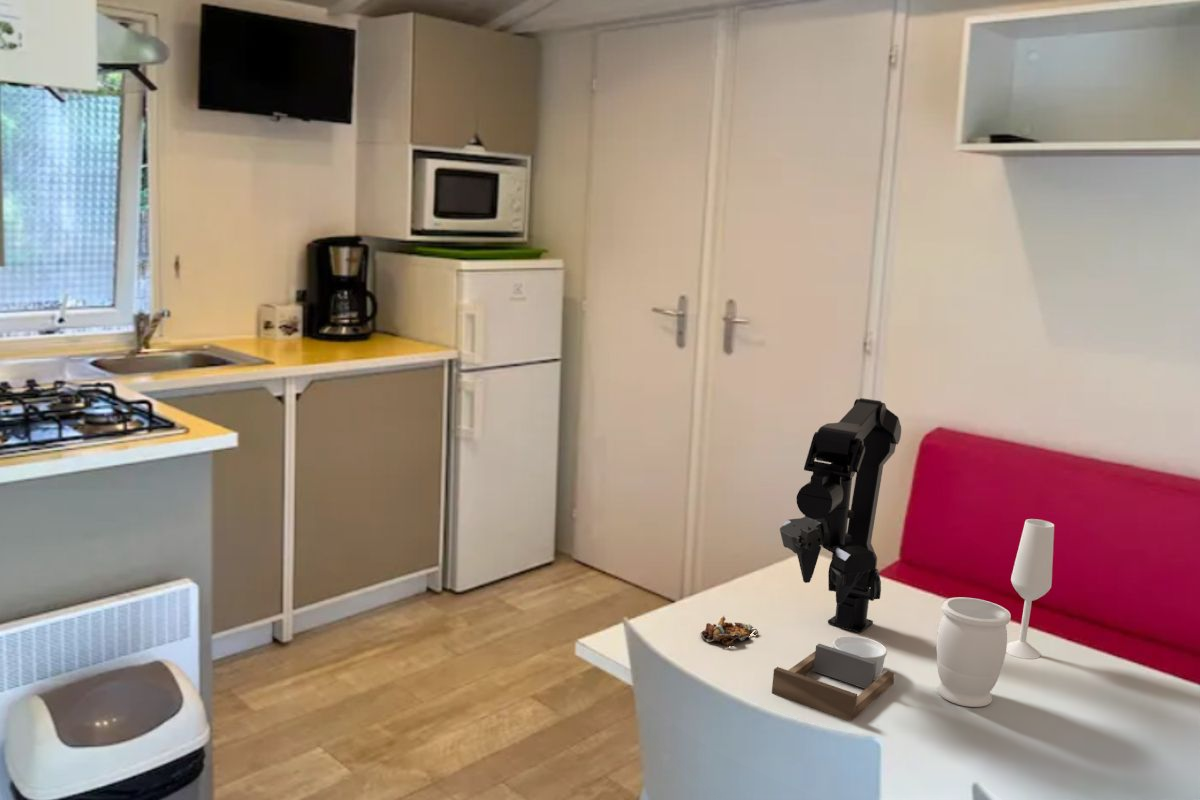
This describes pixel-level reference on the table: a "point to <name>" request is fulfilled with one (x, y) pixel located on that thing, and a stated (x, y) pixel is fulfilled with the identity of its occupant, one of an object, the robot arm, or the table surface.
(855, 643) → the ramekin
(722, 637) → the grilled meat platter
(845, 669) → the block
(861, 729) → the table surface
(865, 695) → the wooden u-shaped frame
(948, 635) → the jar
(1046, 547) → the champagne flute
